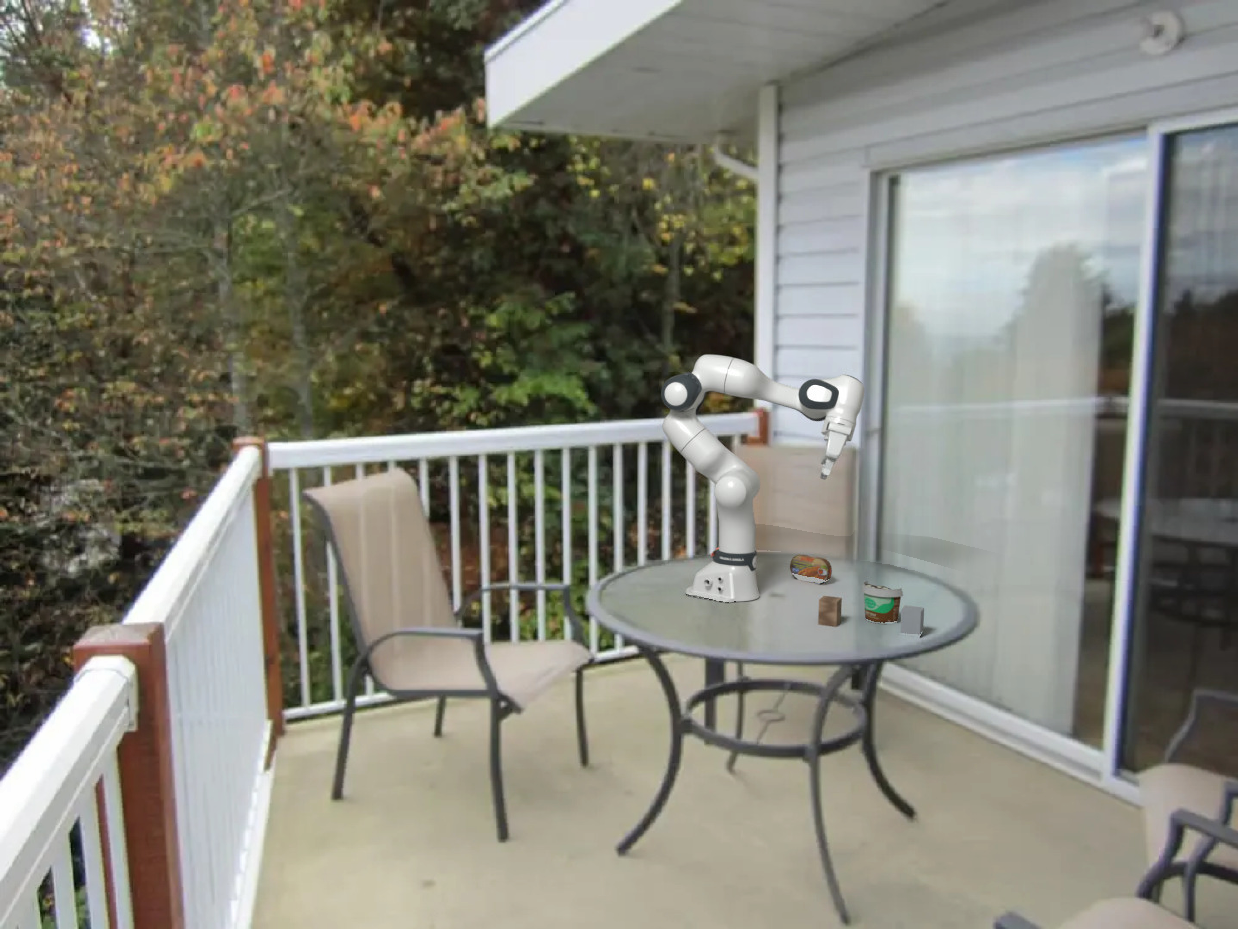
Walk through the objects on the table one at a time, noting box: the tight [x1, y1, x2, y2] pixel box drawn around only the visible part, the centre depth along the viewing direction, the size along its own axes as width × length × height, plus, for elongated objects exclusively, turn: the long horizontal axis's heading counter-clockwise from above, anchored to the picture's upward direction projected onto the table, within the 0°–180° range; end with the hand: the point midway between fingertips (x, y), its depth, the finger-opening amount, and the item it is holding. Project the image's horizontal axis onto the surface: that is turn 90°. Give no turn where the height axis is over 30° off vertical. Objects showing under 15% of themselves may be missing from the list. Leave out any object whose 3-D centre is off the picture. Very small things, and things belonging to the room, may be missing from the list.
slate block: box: [899, 605, 925, 635], centre depth 260 cm, size 5×5×7 cm
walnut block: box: [817, 595, 843, 628], centre depth 270 cm, size 5×5×7 cm
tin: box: [789, 554, 833, 581], centre depth 317 cm, size 15×3×8 cm, turn 43°
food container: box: [860, 580, 904, 623], centre depth 272 cm, size 12×6×10 cm, turn 40°
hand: (824, 477), depth 281 cm, fingers open, 8 cm apart
